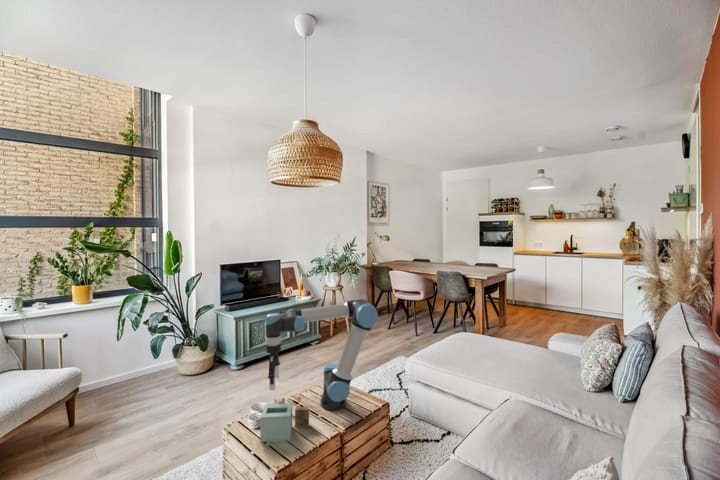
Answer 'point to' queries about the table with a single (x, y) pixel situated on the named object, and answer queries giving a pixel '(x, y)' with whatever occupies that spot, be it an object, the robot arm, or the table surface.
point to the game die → (279, 401)
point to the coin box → (276, 422)
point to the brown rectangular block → (301, 416)
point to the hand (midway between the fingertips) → (274, 383)
